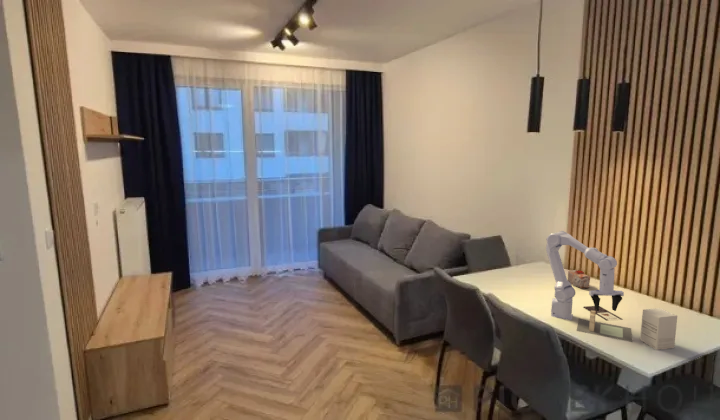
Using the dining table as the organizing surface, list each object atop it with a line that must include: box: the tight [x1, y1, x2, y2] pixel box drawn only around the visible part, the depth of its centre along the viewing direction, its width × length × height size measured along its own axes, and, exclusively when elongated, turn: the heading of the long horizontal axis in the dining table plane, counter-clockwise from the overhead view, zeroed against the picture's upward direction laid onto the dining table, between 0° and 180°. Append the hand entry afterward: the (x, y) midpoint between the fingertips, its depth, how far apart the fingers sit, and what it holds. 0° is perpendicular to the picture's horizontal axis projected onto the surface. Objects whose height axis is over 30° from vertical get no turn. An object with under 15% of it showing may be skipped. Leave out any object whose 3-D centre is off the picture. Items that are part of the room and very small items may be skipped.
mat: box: [576, 318, 633, 343], centre depth 190 cm, size 22×16×1 cm
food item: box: [567, 269, 591, 289], centre depth 251 cm, size 14×8×10 cm, turn 11°
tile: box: [589, 310, 597, 332], centre depth 191 cm, size 6×2×8 cm, turn 148°
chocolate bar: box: [582, 305, 624, 322], centre depth 209 cm, size 9×1×18 cm
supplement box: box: [639, 307, 678, 351], centre depth 175 cm, size 9×9×15 cm
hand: (605, 310), depth 189 cm, fingers open, 7 cm apart
